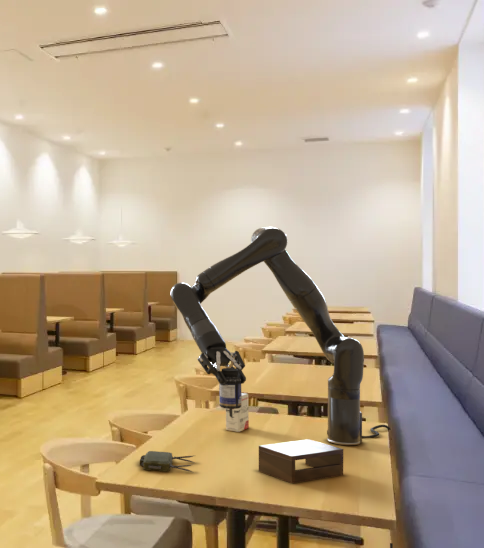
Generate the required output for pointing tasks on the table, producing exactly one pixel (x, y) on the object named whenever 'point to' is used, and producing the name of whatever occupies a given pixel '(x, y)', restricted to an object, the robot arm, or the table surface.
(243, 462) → the table surface
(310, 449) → the shelf
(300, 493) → the table surface
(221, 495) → the table surface
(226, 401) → the pill bottle
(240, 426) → the ink box
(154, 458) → the landmine
